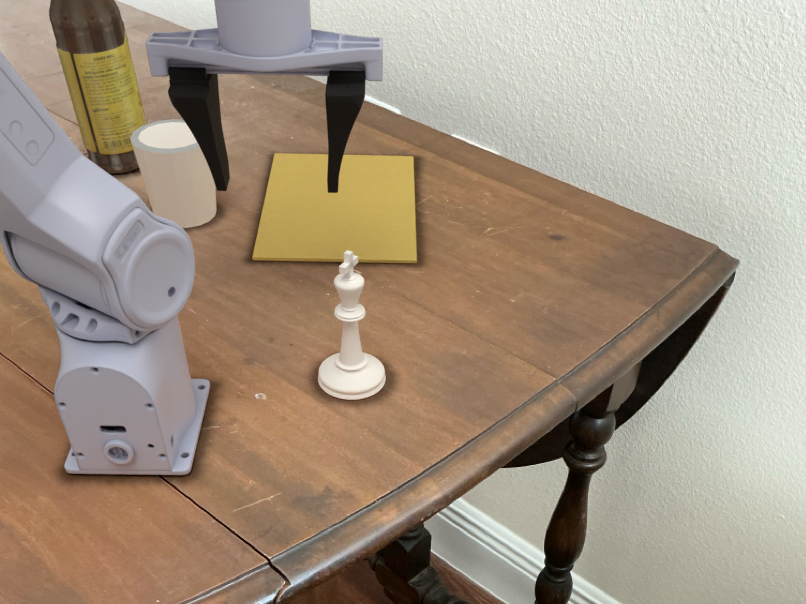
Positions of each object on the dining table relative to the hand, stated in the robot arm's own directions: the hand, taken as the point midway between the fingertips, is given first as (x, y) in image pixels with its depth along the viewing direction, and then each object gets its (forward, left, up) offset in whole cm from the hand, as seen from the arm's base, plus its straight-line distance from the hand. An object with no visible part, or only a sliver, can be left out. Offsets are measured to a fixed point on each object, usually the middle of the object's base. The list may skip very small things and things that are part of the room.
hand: (278, 185), depth 59 cm
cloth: (+18, -3, -10) cm, 21 cm away
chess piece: (-8, -5, -10) cm, 14 cm away
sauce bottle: (+26, +19, -10) cm, 33 cm away
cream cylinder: (+16, +11, -10) cm, 22 cm away
